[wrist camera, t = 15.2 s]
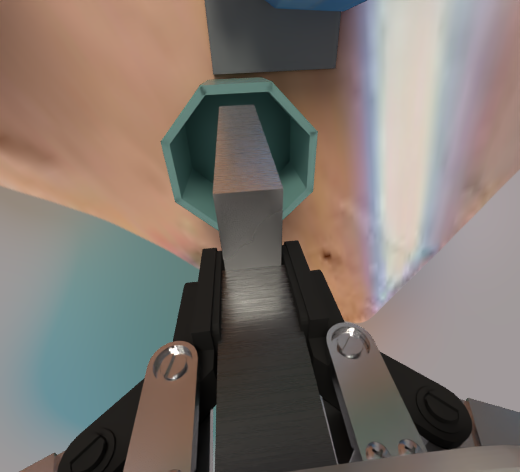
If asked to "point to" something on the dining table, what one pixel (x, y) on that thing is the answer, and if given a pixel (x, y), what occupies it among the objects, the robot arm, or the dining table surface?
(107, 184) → the dining table surface
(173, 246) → the dining table surface
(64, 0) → the dining table surface
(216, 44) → the rubber mat
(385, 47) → the dining table surface
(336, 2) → the perfume bottle
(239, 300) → the brushed metal bar
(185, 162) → the utensil pot
